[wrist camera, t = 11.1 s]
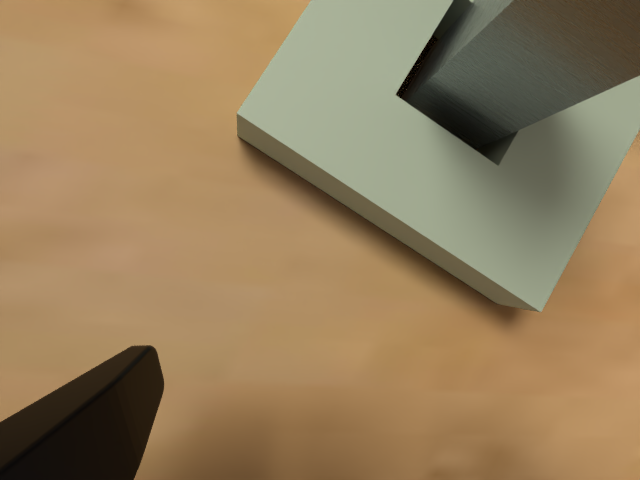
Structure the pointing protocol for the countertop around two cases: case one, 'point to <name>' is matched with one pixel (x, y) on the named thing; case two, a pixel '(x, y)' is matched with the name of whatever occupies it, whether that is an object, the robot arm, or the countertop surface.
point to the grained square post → (524, 63)
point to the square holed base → (434, 149)
